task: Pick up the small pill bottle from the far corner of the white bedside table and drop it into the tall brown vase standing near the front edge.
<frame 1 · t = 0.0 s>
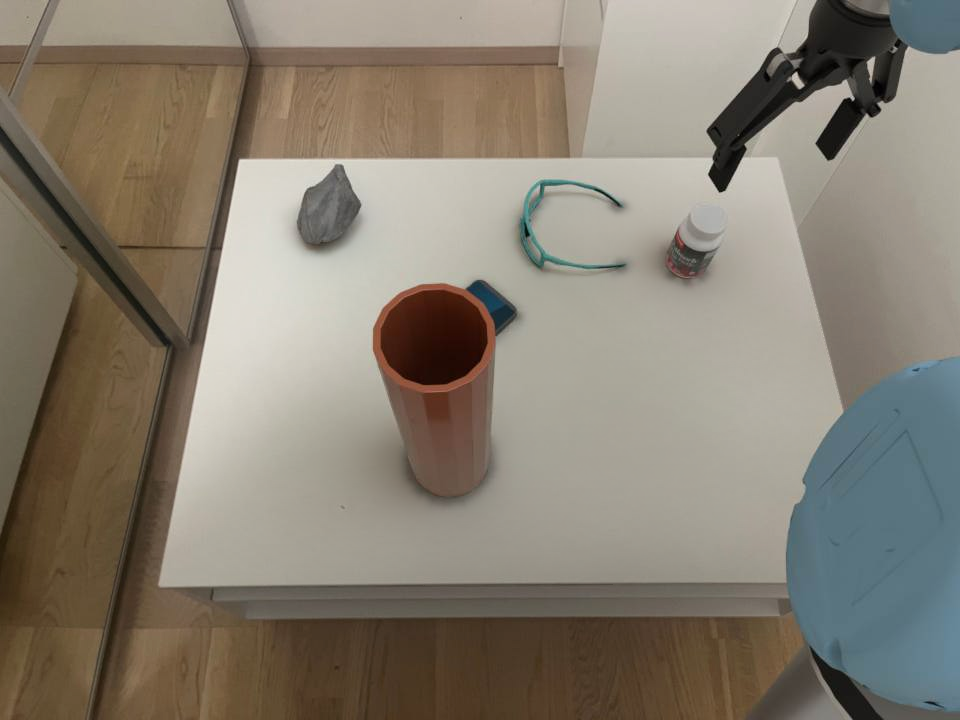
hand: (770, 167, 74), 19 cm above the table, tool pointing down, fingers open, 13 cm apart
grey rock: (333, 223, 94), on the table
sunglasses: (571, 234, 93), on the table
pill bottle: (685, 262, 91), on the table
tall brown vase: (450, 458, 79), on the table
smartphone: (459, 333, 86), on the table
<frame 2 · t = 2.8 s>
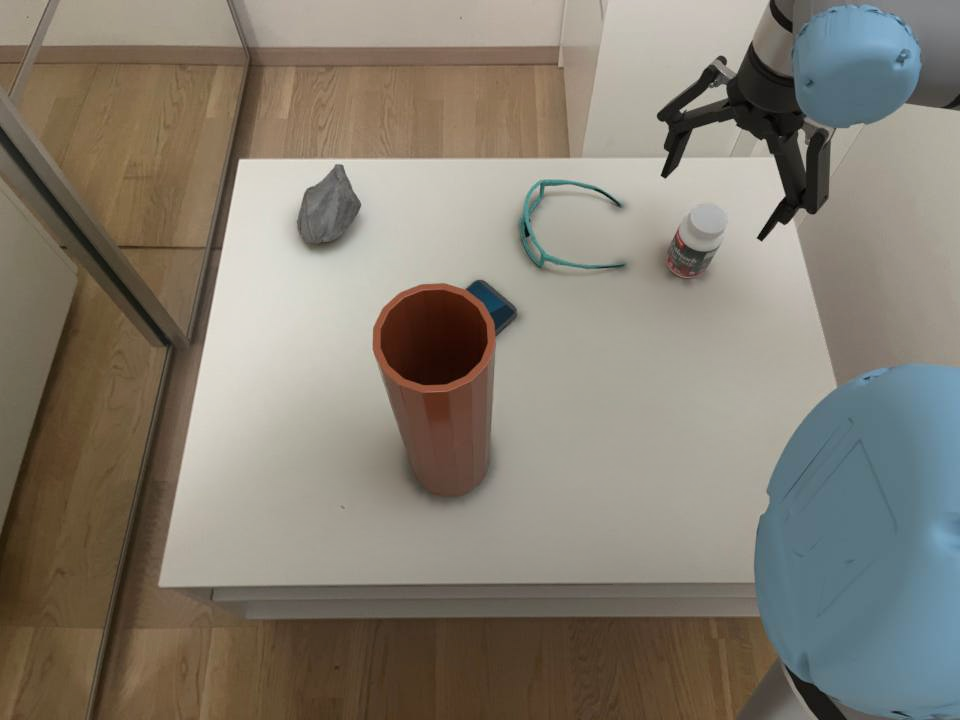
hand: (716, 201, 79), 13 cm above the table, tool pointing down, fingers open, 13 cm apart
nothing on the table moved.
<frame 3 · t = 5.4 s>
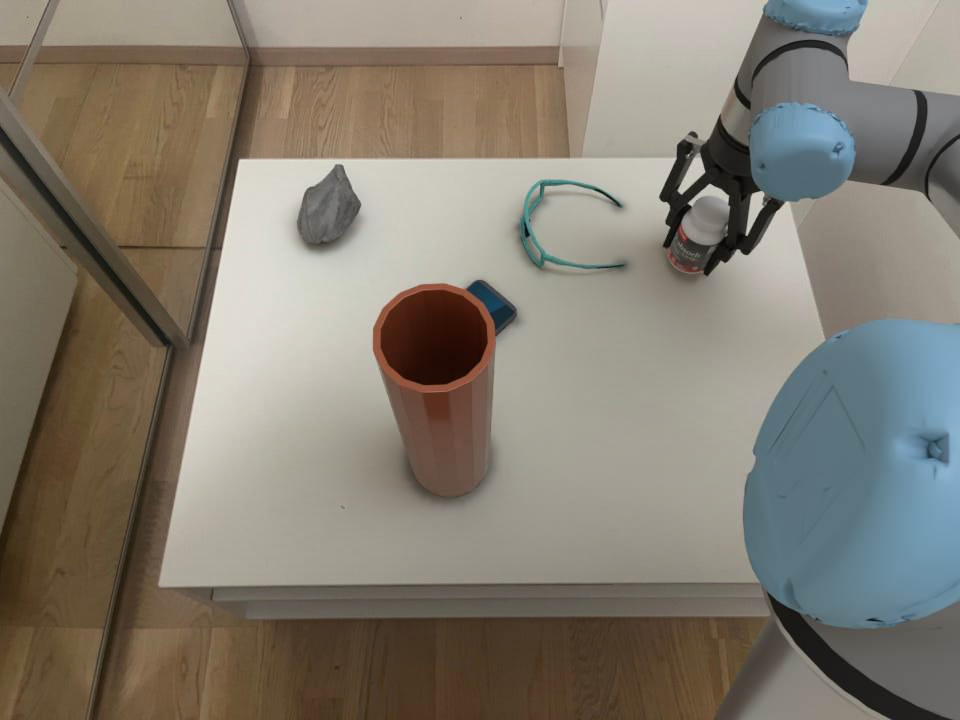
hand: (690, 255, 89), 2 cm above the table, tool pointing down, fingers closed on pill bottle, 6 cm apart
pill bottle: (688, 258, 89), point 2 cm above the table, touching gripper
everything else where it was.
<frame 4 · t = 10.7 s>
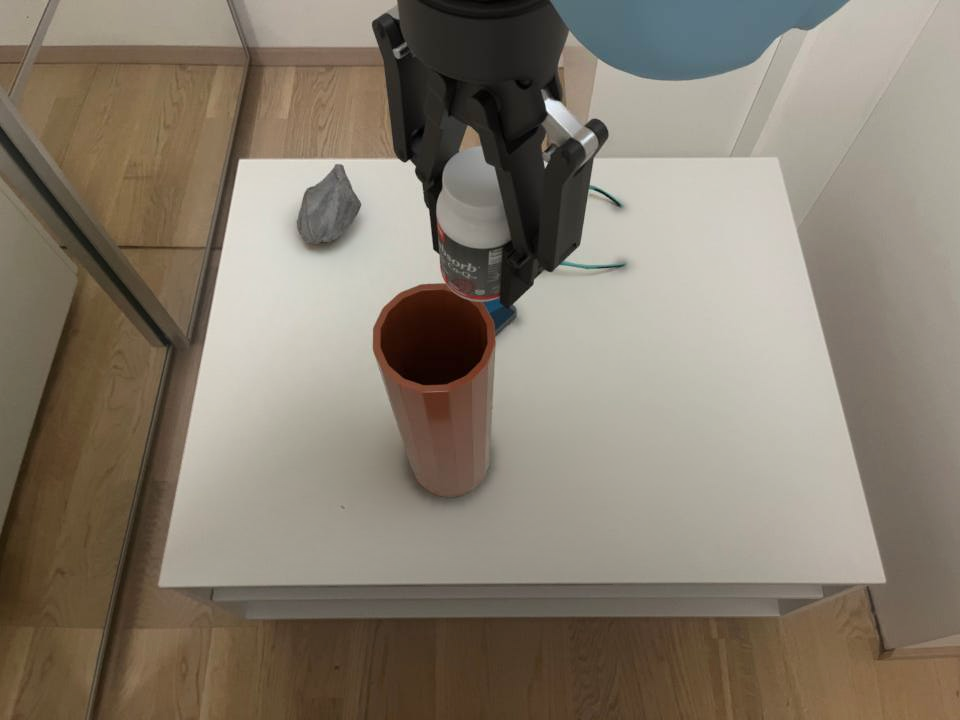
hand: (482, 266, 47), 37 cm above the table, tool pointing down, fingers closed on pill bottle, 6 cm apart
pill bottle: (480, 272, 48), point 36 cm above the table, touching gripper
everything else where it was.
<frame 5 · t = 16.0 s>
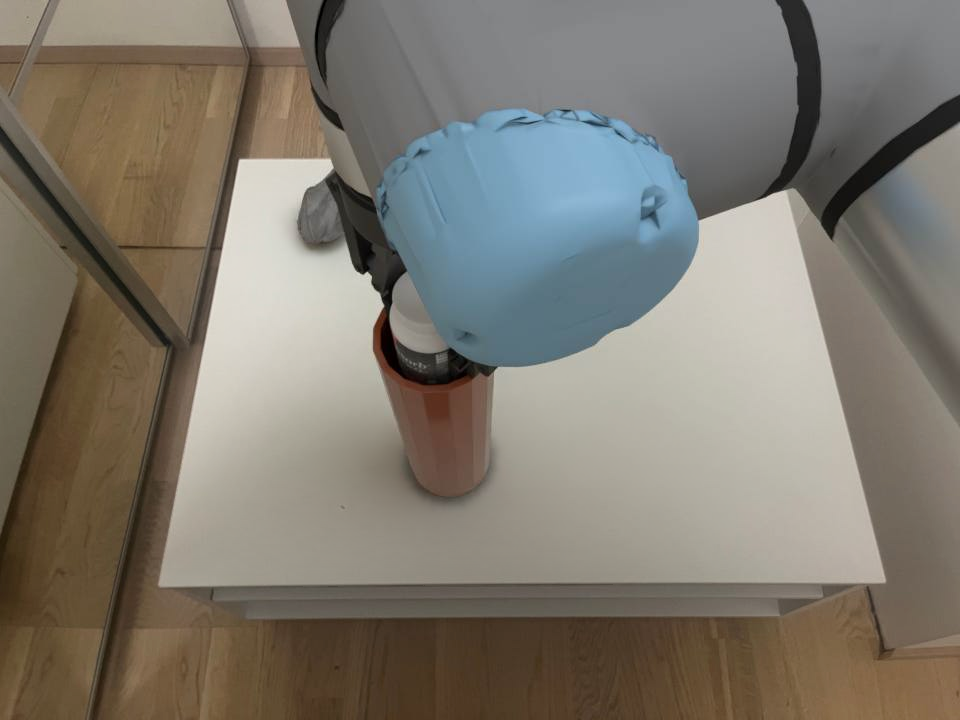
hand: (436, 354, 53), 29 cm above the table, tool pointing down, fingers closed on pill bottle, 6 cm apart
pill bottle: (434, 359, 53), point 28 cm above the table, touching gripper
everything else where it was.
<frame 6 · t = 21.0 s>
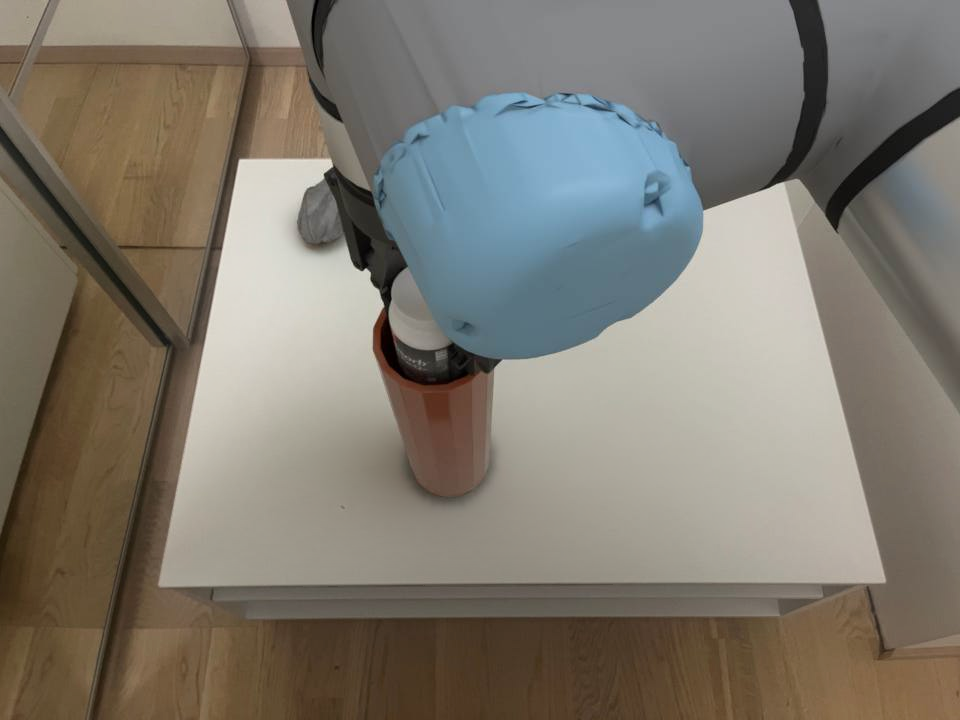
hand: (436, 352, 53), 29 cm above the table, tool pointing down, fingers closed on pill bottle, 6 cm apart
pill bottle: (434, 356, 53), point 29 cm above the table, touching gripper
everything else where it was.
when the fingers open (32 cm above the table, at t = 25.1 s): pill bottle drops 31 cm, resting on tall brown vase.
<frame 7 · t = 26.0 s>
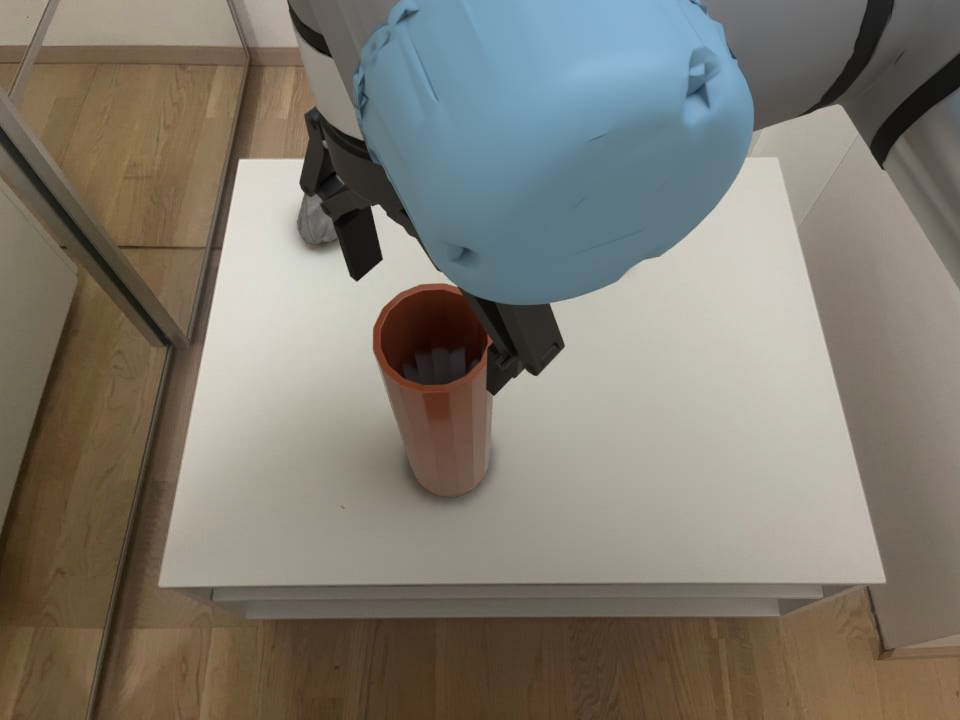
hand: (432, 321, 48), 34 cm above the table, tool pointing down, fingers open, 13 cm apart
pill bottle: (447, 449, 79), point 1 cm above the table, touching tall brown vase
everything else where it was.
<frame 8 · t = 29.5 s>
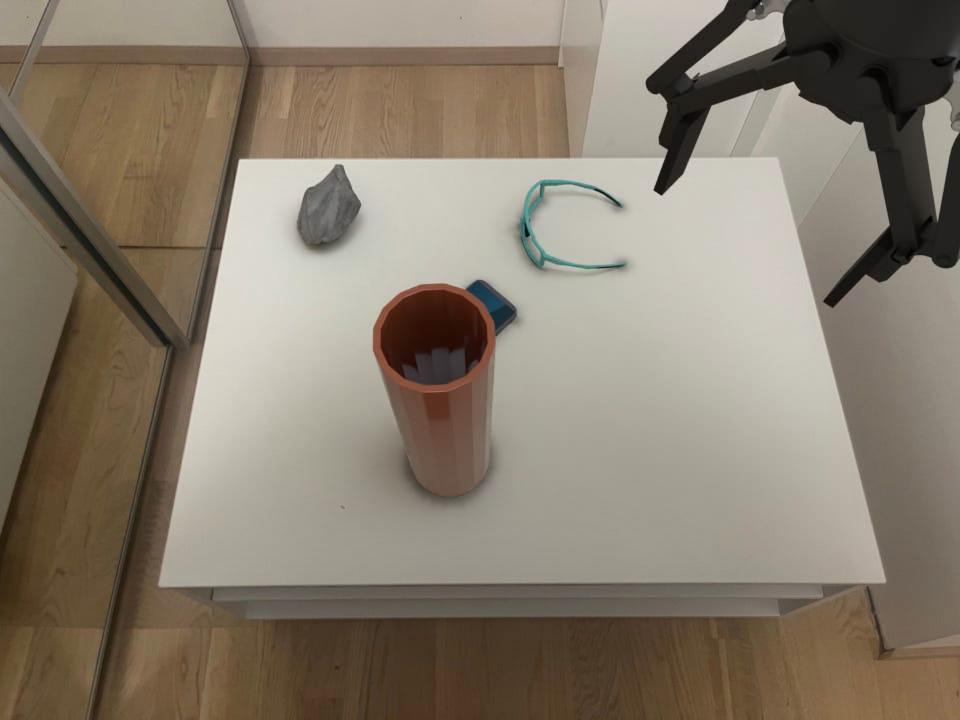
hand: (749, 235, 46), 39 cm above the table, tool pointing down, fingers open, 13 cm apart
nothing on the table moved.
at the end: pill bottle 1.0 cm off-centre in the tall brown vase, point 0.6 cm above the tall brown vase's base; the gripper is holding nothing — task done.
